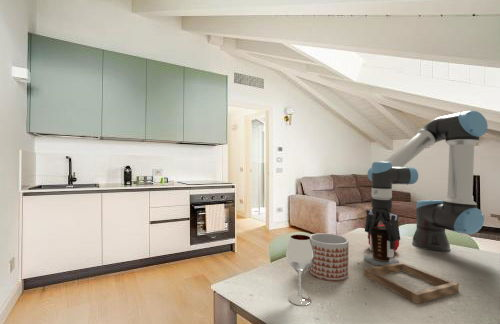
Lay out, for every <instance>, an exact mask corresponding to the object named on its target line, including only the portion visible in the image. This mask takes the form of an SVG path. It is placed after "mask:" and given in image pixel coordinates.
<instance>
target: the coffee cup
mask: <svg viewBox="0 0 500 324" xmlns="http://www.w3.org/2000/svg"><path fill="white" fill-rule="evenodd" d="M370 232H371V242H372V251H371V252H372V253H371V254H373V258H374V259H376V260H380V261H389V260H390V257H387V240H389V238H388V233H387V231H386V229H385V226H372V229H370Z"/></svg>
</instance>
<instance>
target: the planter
mask: <svg viewBox="0 0 500 324" xmlns="http://www.w3.org/2000/svg"><path fill="white" fill-rule="evenodd" d="M308 236H309V237H310V238H311V242H312V246H313V250H314V255H315V260H314V263H313V265H312V266H311V267H310V268H309V269H308V272H309V273H310V274H311V275H312V276H313V277H314V278H317V279H320V280H324V281H329V282H340V281H344V280H346V279H347V278H348V277H349V238H347V237H345V236H343V235H339V234H335V233H326V232H325V233H324V232H318V233H312V234H310V235H308Z"/></svg>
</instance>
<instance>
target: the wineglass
mask: <svg viewBox="0 0 500 324" xmlns="http://www.w3.org/2000/svg"><path fill="white" fill-rule="evenodd" d="M309 236H310V235H305V234H292V235H290V237H289V240H288V245H287V248H286V253H285V258H286V261H287V263H288V264H289V266H290V267H291V268H292V269H293V270H294V271H295V272H296V273H297V275H298V293H297V292H296V293H292V294H289V296H288V301H289V302H290V303H291V304H293V305H296V306H300V307H301V306H302V307H304V306H308V305H310V304H311V302H312V299H311V297H310V296H308V294H307V295H306V294H305V293H302V275H303V274H304V273H305V272H306V271H309V268H310V267H311V266H312V265H313V263H314V260H315V255H314V250H313V246H312V242H311V238H310V237H309Z"/></svg>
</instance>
